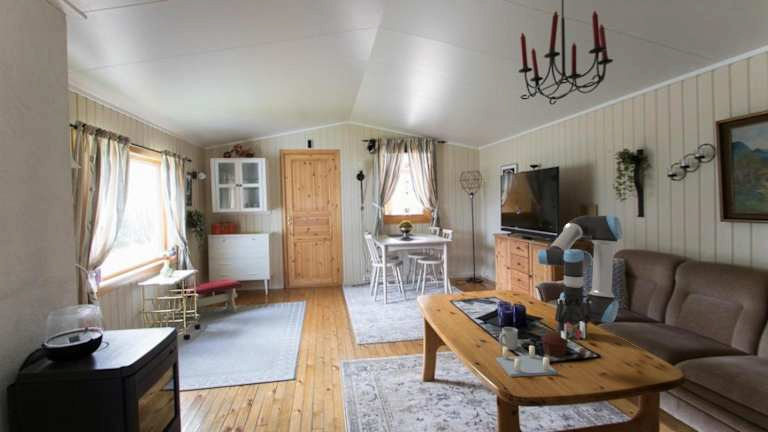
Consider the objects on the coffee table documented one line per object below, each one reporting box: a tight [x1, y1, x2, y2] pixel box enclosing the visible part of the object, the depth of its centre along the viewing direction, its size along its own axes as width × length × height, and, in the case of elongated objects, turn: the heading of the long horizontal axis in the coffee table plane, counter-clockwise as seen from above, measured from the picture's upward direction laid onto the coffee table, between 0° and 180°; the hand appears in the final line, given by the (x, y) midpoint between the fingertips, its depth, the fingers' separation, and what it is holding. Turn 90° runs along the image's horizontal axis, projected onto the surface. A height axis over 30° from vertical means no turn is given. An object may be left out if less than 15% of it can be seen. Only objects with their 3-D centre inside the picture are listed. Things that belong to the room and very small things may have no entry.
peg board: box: [495, 345, 558, 378], centre depth 158 cm, size 20×16×6 cm
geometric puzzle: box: [566, 323, 582, 341], centre depth 156 cm, size 7×7×8 cm
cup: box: [498, 326, 519, 351], centre depth 179 cm, size 7×10×9 cm
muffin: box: [540, 330, 569, 358], centre depth 172 cm, size 12×11×10 cm
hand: (573, 337), depth 157 cm, fingers closed on geometric puzzle, 8 cm apart
